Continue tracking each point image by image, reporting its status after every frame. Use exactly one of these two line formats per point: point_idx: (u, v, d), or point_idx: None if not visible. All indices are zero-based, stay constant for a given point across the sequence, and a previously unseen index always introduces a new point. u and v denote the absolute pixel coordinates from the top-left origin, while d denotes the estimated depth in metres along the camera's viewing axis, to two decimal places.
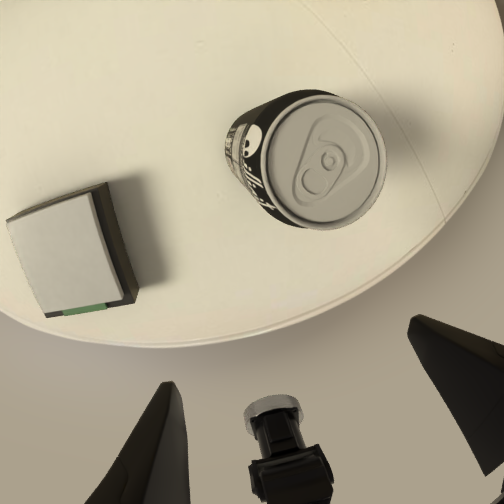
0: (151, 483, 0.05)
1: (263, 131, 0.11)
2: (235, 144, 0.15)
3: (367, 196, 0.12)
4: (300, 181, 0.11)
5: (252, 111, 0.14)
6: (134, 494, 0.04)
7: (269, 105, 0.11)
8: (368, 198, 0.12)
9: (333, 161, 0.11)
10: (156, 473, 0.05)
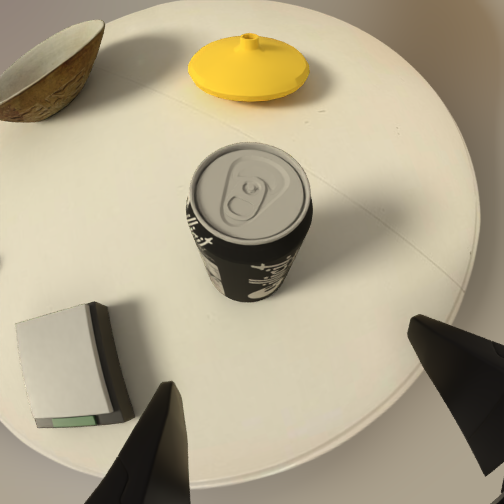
0: (151, 483, 0.05)
1: None
2: None
3: (300, 210, 0.13)
4: (228, 209, 0.13)
5: None
6: (134, 494, 0.04)
7: None
8: None
9: (254, 187, 0.13)
10: (156, 473, 0.05)
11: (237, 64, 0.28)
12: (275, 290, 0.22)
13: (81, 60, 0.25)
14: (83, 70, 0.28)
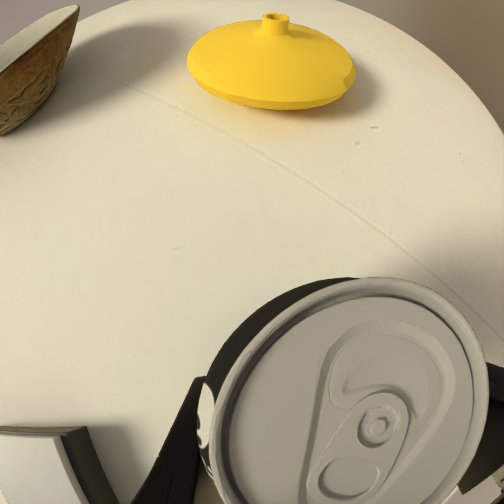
0: (198, 481, 0.05)
1: (216, 399, 0.05)
2: None
3: (460, 447, 0.04)
4: (317, 487, 0.04)
5: None
6: (183, 494, 0.04)
7: (230, 338, 0.06)
8: (462, 449, 0.04)
9: (385, 424, 0.04)
10: (201, 470, 0.05)
11: (259, 54, 0.19)
12: None
13: (42, 55, 0.16)
14: (47, 68, 0.18)
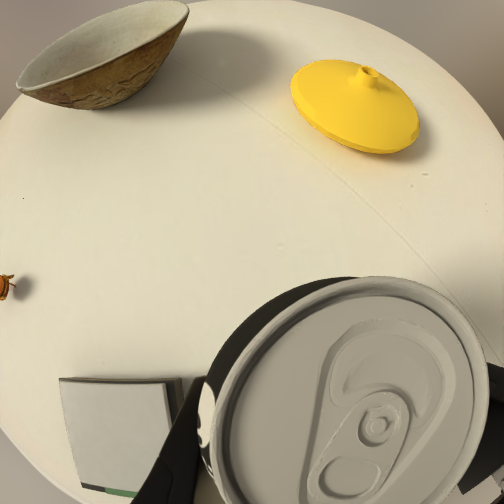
0: (198, 481, 0.05)
1: (217, 398, 0.05)
2: None
3: (461, 446, 0.04)
4: (318, 486, 0.04)
5: None
6: (182, 494, 0.04)
7: (231, 337, 0.06)
8: (462, 448, 0.04)
9: (385, 423, 0.04)
10: (201, 470, 0.05)
11: (353, 102, 0.24)
12: None
13: (159, 48, 0.23)
14: (158, 60, 0.25)
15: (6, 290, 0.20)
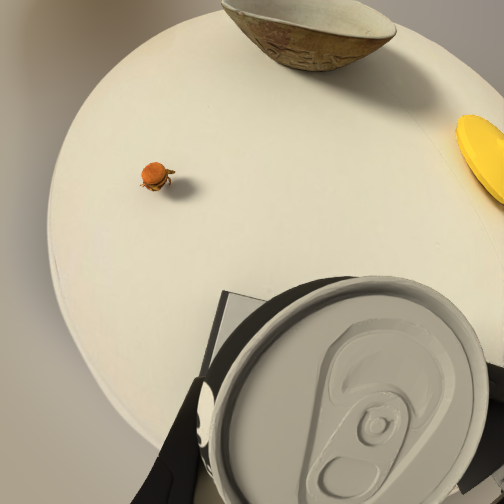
0: (198, 481, 0.05)
1: (216, 397, 0.05)
2: None
3: (460, 446, 0.04)
4: (317, 485, 0.04)
5: None
6: (182, 494, 0.04)
7: (230, 336, 0.06)
8: (462, 448, 0.04)
9: (385, 423, 0.04)
10: (201, 470, 0.05)
11: (499, 160, 0.24)
12: None
13: (376, 47, 0.25)
14: (365, 55, 0.27)
15: (163, 182, 0.24)
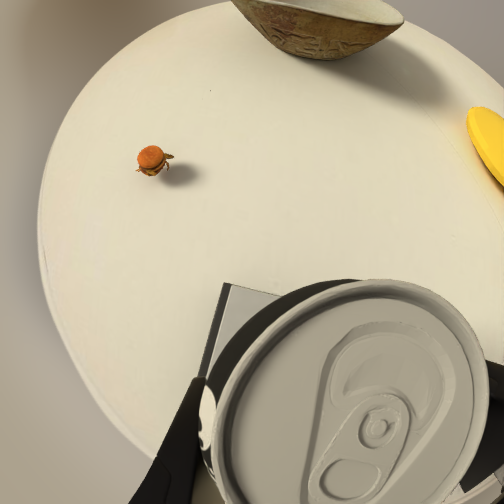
0: (196, 481, 0.05)
1: (218, 401, 0.05)
2: None
3: (461, 447, 0.04)
4: (319, 488, 0.04)
5: None
6: (180, 494, 0.04)
7: (231, 340, 0.06)
8: (463, 449, 0.04)
9: (386, 425, 0.04)
10: (199, 470, 0.05)
11: None
12: None
13: (384, 34, 0.23)
14: (373, 43, 0.25)
15: (161, 167, 0.22)
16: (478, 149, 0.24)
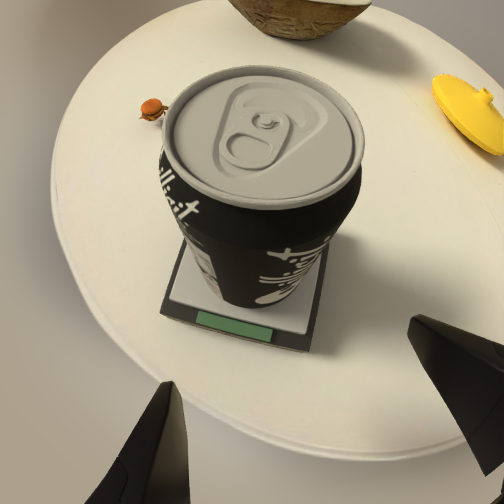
0: (151, 483, 0.05)
1: None
2: None
3: (350, 157, 0.07)
4: (227, 151, 0.07)
5: None
6: (134, 494, 0.04)
7: None
8: (353, 161, 0.07)
9: (272, 121, 0.08)
10: (156, 473, 0.05)
11: (474, 108, 0.25)
12: (291, 292, 0.16)
13: (351, 14, 0.26)
14: (343, 22, 0.29)
15: (159, 114, 0.25)
16: (441, 106, 0.28)
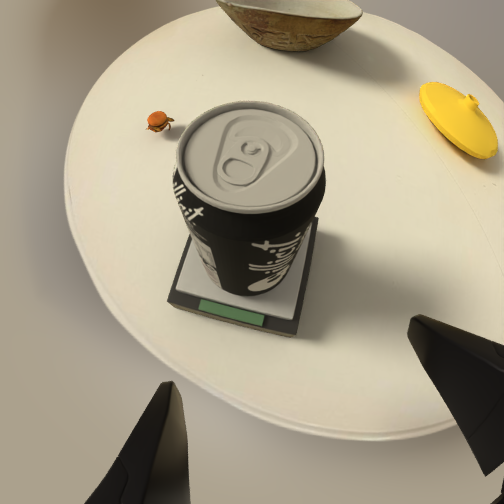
0: (151, 483, 0.05)
1: (183, 146, 0.11)
2: None
3: (312, 174, 0.10)
4: (223, 172, 0.10)
5: None
6: (134, 494, 0.04)
7: None
8: (315, 176, 0.10)
9: (255, 148, 0.11)
10: (156, 473, 0.05)
11: (459, 114, 0.28)
12: (279, 282, 0.19)
13: (342, 27, 0.29)
14: (335, 35, 0.32)
15: (164, 125, 0.29)
16: (427, 113, 0.31)
